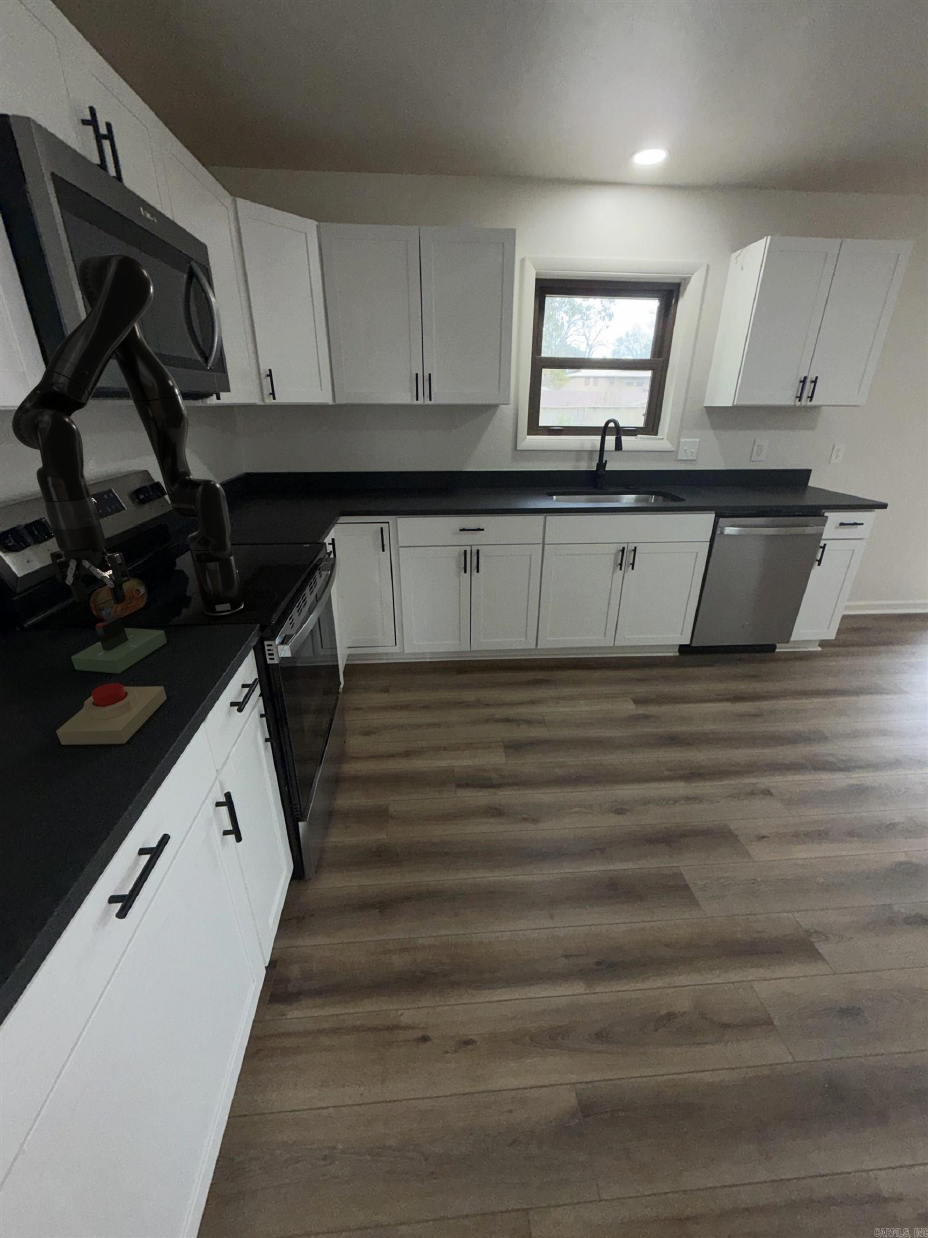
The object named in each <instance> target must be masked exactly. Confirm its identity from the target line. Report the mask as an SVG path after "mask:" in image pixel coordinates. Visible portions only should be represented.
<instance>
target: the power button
mask: <svg viewBox="0 0 928 1238" xmlns="http://www.w3.org/2000/svg"><path fill="white" fill-rule="evenodd" d="M123 687H124V685H123V684H122V683H120V682H110V683H106V684H103V685H100V686H98V687H96V688H95V689H93V690H92V691H91V696H92V697H93V700H94V703H95V705H96V706H97V707H105V706H109V705H113V704H116V703H118V702H120V701H122V700H124V699H125V698H126V694H125V691H124V688H123Z"/></svg>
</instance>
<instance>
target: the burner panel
mask: <svg viewBox="0 0 928 1238" xmlns="http://www.w3.org/2000/svg"><path fill="white" fill-rule="evenodd" d="M124 628H125V631H126V635H127V638H128V640H127V641H125V642H124V643H122V644H120V645H119V646H117V647H115V648H114V649H112V650H110V651H108V650H103V648H102V645H101V642H100V640H99V641H98V642H96V643H94V644H92V645H91V646H88V647H87V648H84V649H83V650H81V651H79V652H77V653H76V654H74V655H72V656H70V658H71V661H72V664H73V666H74V669H75V670H76V671H86V672H95V673H96V672H97V673H109V674H121V673H122V672H124V671H125V670H127V669H128V668H130V667H131V666H133V665H135V664H136V663H138V662H139V661H141V660H142V659H143V658H145V657H147V656H148V655H150V654H151V653H153V652H155V651H156V650H157V649H159V648H161V647H163V646H164V645H166V644H167V643H168V641H167V637H166V633H165V630H161V629H148V628H146V629H145V628H132V627H124Z"/></svg>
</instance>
